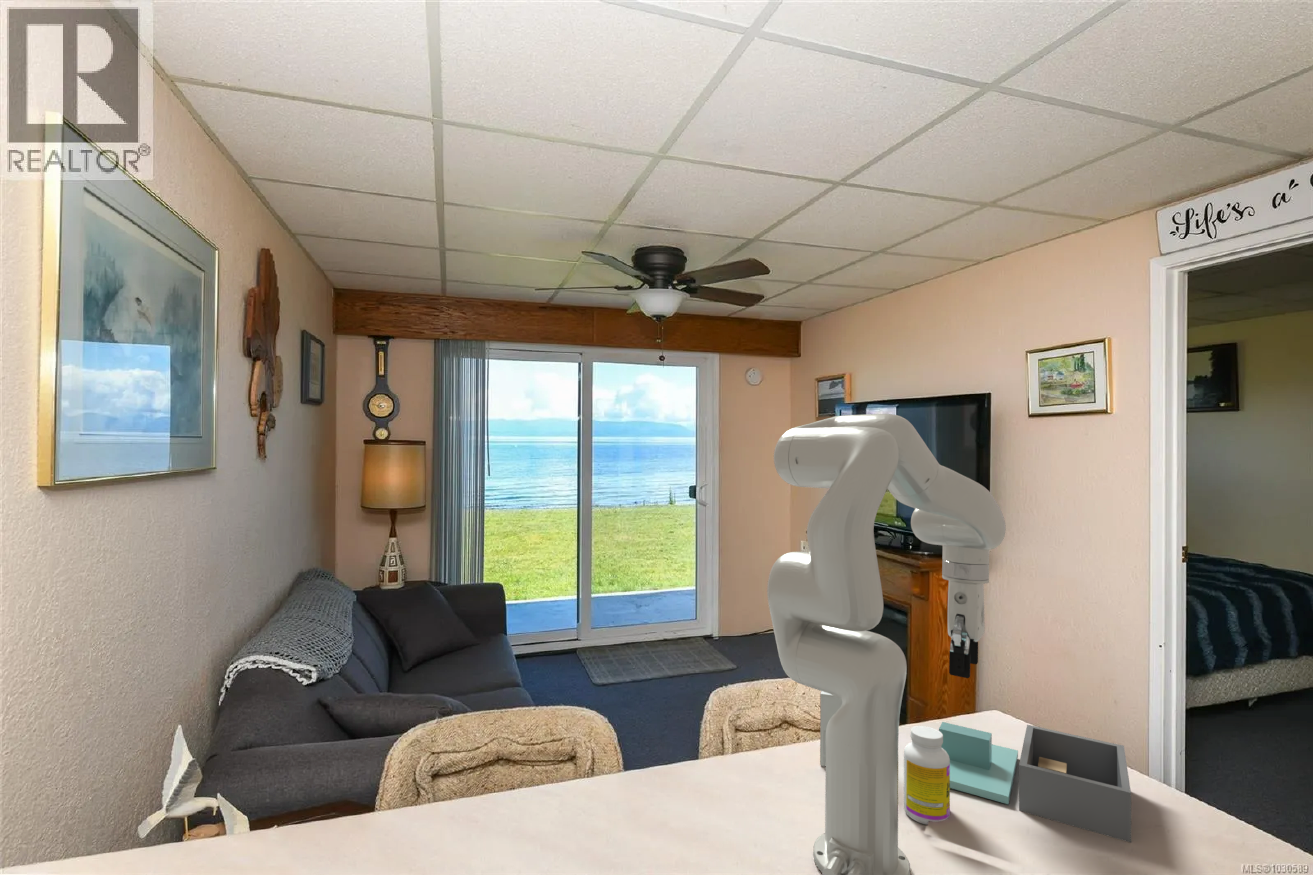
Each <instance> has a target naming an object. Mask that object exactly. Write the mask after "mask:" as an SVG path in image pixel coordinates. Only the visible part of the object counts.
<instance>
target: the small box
mask: <svg viewBox="0 0 1313 875" xmlns="http://www.w3.org/2000/svg"><path fill="white" fill-rule="evenodd" d="M819 697H820V698H819V701H820V711H819V712H820V713H819V715H820V716H819V720H820V722H819V723H820V724H819V726H820V729H819V730H820V731H819V732H820V733H819V736H820V738H819V740H820V743H819V747H820V748H819V754H820V755H819V756H820V757H819V765H820V767H825V766H826V728H827V725H828V722H829V720H830V719H831V717H832V716H833V715H834V714H835V713H836V712H837V711H838V710H839V709H840V707H841V706H842V700H841V699H840V698H839V697H837V696H834V695H831V694H829V693H826V692H823V691H820V694H819Z"/></svg>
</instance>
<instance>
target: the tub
mask: <svg viewBox="0 0 1313 875" xmlns="http://www.w3.org/2000/svg"><path fill="white" fill-rule="evenodd" d="M1021 748H1022V749H1021V753H1020V758H1019V759H1020V760H1019V762H1018V811H1019V812H1023V813H1025V814H1030V815H1033V816H1037V817H1040V818H1044V819H1046V820H1047V819H1048V820H1051V821H1055V822H1058V823H1062V824H1065V825H1069V826H1071V827H1072V826H1073V827H1076V828H1079V829H1082V830H1086V831H1090V832H1093V833H1097V834H1100V835H1104V836H1106V837H1111V838H1113V839H1117V840H1121V841H1124V842H1128V843H1132V792H1131V784H1130V777H1129V771H1128V764H1127V758H1126V751H1125V745H1122V744H1118V743H1114V742H1113V743H1112V742H1109V741H1104V740H1099V739H1095V738H1090V737H1085V736H1081V735H1076V734H1072V733H1067V732H1062V731H1058V730H1052V729H1049V728H1046V727H1045V728H1044V727H1040V726H1035V725H1031V724H1027V725H1026V729H1025V733H1024V739H1023V742H1022V747H1021ZM1039 757H1042V758H1047V759H1051V760H1055V761H1059V762H1063V763H1067V774H1065V773H1061V772H1057V771H1053V770H1049V769H1045V768H1041V767H1038V762H1039Z"/></svg>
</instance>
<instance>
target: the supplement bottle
mask: <svg viewBox="0 0 1313 875" xmlns="http://www.w3.org/2000/svg"><path fill="white" fill-rule="evenodd" d="M910 740H911V742H908V743H907V744H906V745H905V746H904V749H903V809H904V811H905V813H906V815H907V816H908V817H909V818H911V819H912V820H913V821H916V822H917V823H920V824H922V825H929V822H943V821H945V820H948V819H949V818H950V814H951V805H950V804H951V801H950V800H951V798H950V797H951V788H950V758H949V755H948V753H947V752H946V751H945V750H944V749H943V748H941V746H942V744H943V734H942V733H941V732H940V731H939V729H936V728H934V727H931V726H925V725H916V726H915V725H914V726H912V727H910Z"/></svg>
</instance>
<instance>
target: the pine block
mask: <svg viewBox="0 0 1313 875" xmlns="http://www.w3.org/2000/svg"><path fill="white" fill-rule="evenodd" d="M1038 767H1041V768H1045V769H1049V770H1053V771H1057V772H1061V773H1065V774H1067V763H1063V762H1059V761H1055V760H1051V759H1047V758H1042V757H1039V762H1038Z"/></svg>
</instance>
